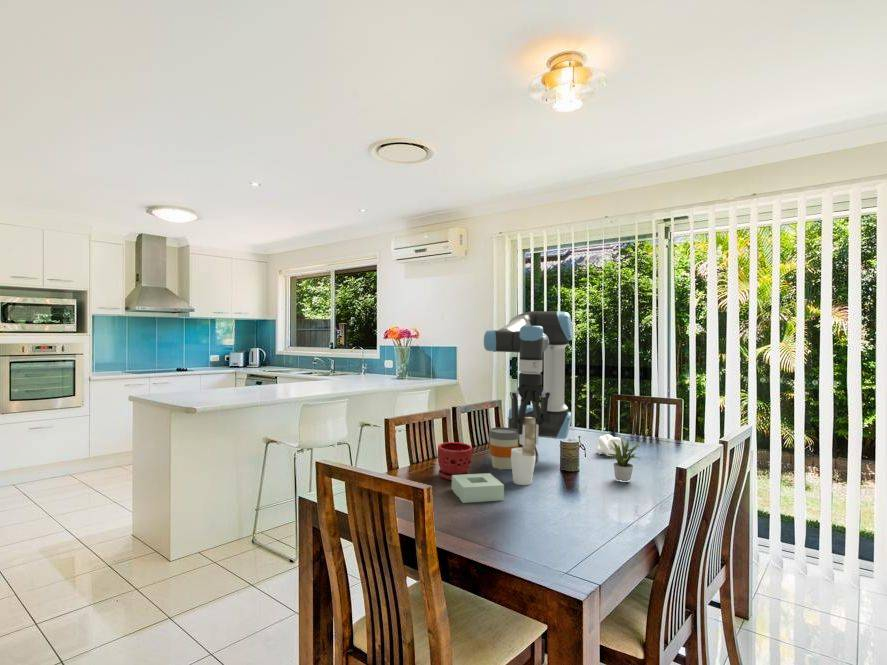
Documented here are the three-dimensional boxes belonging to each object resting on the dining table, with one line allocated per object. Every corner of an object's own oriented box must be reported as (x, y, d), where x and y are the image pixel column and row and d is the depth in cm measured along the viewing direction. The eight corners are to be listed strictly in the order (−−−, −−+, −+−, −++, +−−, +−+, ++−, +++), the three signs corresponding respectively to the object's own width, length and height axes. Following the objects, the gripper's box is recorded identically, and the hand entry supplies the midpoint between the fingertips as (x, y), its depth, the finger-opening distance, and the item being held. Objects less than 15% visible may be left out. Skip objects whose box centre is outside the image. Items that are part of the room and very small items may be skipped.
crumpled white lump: (588, 453, 238) (588, 433, 238) (608, 451, 243) (608, 432, 243) (605, 459, 228) (606, 439, 228) (626, 456, 233) (626, 437, 233)
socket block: (489, 487, 183) (489, 473, 183) (503, 500, 170) (504, 485, 170) (451, 489, 180) (451, 475, 180) (463, 502, 166) (463, 487, 166)
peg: (531, 452, 171) (532, 416, 171) (536, 455, 167) (537, 419, 167) (520, 453, 170) (521, 417, 170) (525, 456, 166) (526, 419, 166)
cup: (516, 487, 184) (516, 453, 184) (506, 479, 193) (507, 447, 193) (539, 485, 186) (539, 452, 186) (528, 478, 195) (529, 447, 195)
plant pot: (430, 478, 192) (431, 446, 192) (447, 470, 203) (447, 440, 203) (462, 484, 186) (463, 451, 185) (477, 475, 197) (478, 444, 197)
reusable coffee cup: (518, 463, 217) (518, 427, 217) (519, 471, 204) (520, 434, 204) (488, 461, 218) (489, 426, 218) (487, 470, 205) (488, 432, 205)
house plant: (647, 489, 185) (649, 444, 185) (607, 486, 188) (609, 441, 188) (640, 478, 199) (642, 436, 199) (603, 475, 202) (604, 433, 202)
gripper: (510, 373, 162) (508, 447, 163) (559, 373, 167) (557, 445, 167) (501, 371, 170) (500, 442, 170) (549, 371, 174) (547, 440, 174)
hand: (528, 443), depth 168 cm, fingers closed on peg, 4 cm apart
